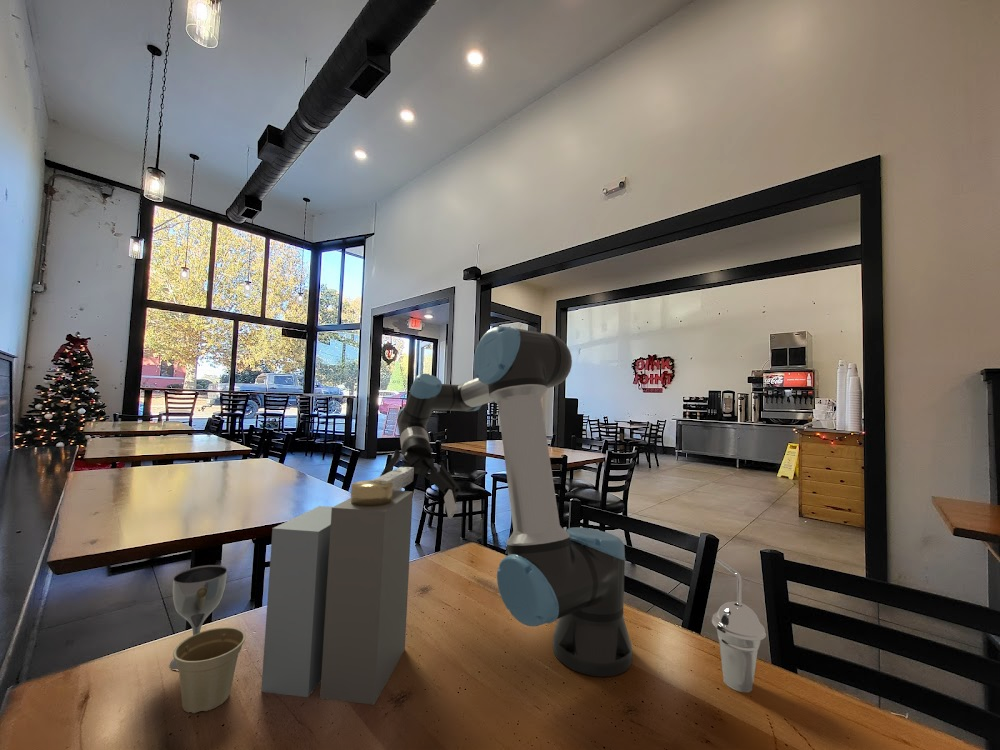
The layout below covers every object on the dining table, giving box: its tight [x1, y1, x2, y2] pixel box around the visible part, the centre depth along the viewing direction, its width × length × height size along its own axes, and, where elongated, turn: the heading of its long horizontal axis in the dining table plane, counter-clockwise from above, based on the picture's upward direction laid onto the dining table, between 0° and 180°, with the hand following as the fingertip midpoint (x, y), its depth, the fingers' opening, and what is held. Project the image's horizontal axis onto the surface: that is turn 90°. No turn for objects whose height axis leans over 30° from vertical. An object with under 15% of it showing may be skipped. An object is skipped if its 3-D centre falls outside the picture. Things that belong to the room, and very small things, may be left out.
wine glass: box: [168, 564, 228, 670], centre depth 77 cm, size 8×8×15 cm
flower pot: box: [172, 626, 247, 714], centre depth 67 cm, size 9×9×9 cm
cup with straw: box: [711, 558, 767, 693], centre depth 76 cm, size 8×9×20 cm
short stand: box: [260, 505, 333, 698], centre depth 76 cm, size 8×15×26 cm, turn 174°
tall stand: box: [319, 490, 414, 705], centre depth 76 cm, size 9×15×30 cm, turn 174°
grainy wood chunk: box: [350, 466, 415, 507], centre depth 82 cm, size 7×23×3 cm, turn 174°
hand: (426, 508), depth 94 cm, fingers open, 13 cm apart
